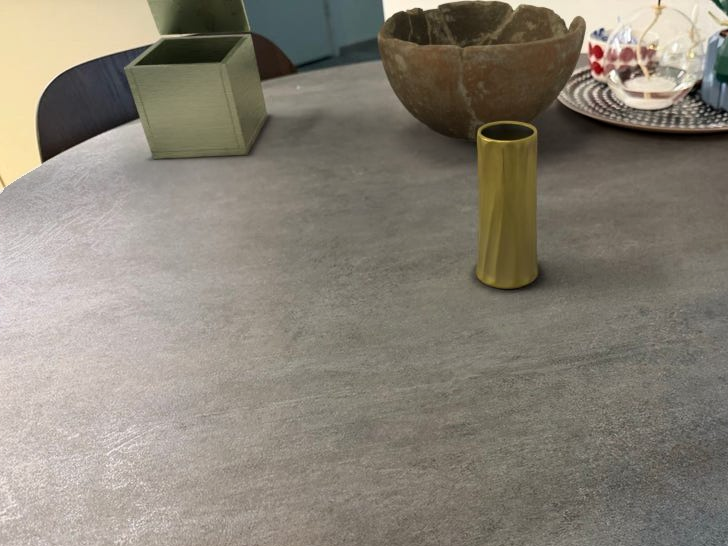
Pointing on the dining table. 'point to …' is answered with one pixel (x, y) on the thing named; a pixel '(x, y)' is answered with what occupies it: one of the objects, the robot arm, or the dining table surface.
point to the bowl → (478, 63)
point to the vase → (507, 204)
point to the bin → (198, 95)
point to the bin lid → (199, 16)
